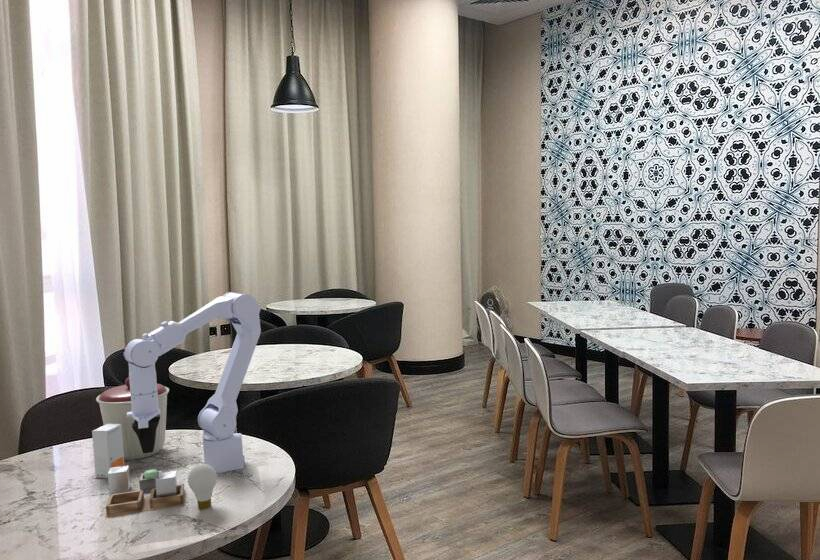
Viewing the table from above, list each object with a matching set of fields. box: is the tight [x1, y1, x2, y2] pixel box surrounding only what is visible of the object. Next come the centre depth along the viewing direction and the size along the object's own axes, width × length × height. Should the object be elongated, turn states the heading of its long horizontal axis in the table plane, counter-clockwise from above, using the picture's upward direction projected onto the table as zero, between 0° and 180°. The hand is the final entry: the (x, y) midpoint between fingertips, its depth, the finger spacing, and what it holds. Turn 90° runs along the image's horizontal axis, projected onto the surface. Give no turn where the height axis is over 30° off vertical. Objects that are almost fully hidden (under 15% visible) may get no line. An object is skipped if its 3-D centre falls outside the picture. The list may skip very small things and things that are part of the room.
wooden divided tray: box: [104, 483, 186, 518], centre depth 146 cm, size 16×8×3 cm, turn 107°
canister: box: [95, 376, 170, 461], centre depth 181 cm, size 18×18×21 cm
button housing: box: [138, 470, 163, 492], centre depth 156 cm, size 5×5×4 cm
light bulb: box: [187, 463, 218, 510], centre depth 143 cm, size 6×6×10 cm
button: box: [143, 468, 158, 479], centre depth 156 cm, size 3×3×4 cm
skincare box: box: [91, 424, 126, 479], centre depth 167 cm, size 6×4×12 cm
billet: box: [107, 464, 132, 496], centre depth 154 cm, size 4×4×6 cm
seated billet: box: [155, 470, 178, 498], centre depth 147 cm, size 4×4×6 cm
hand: (148, 450), depth 155 cm, fingers open, 2 cm apart
